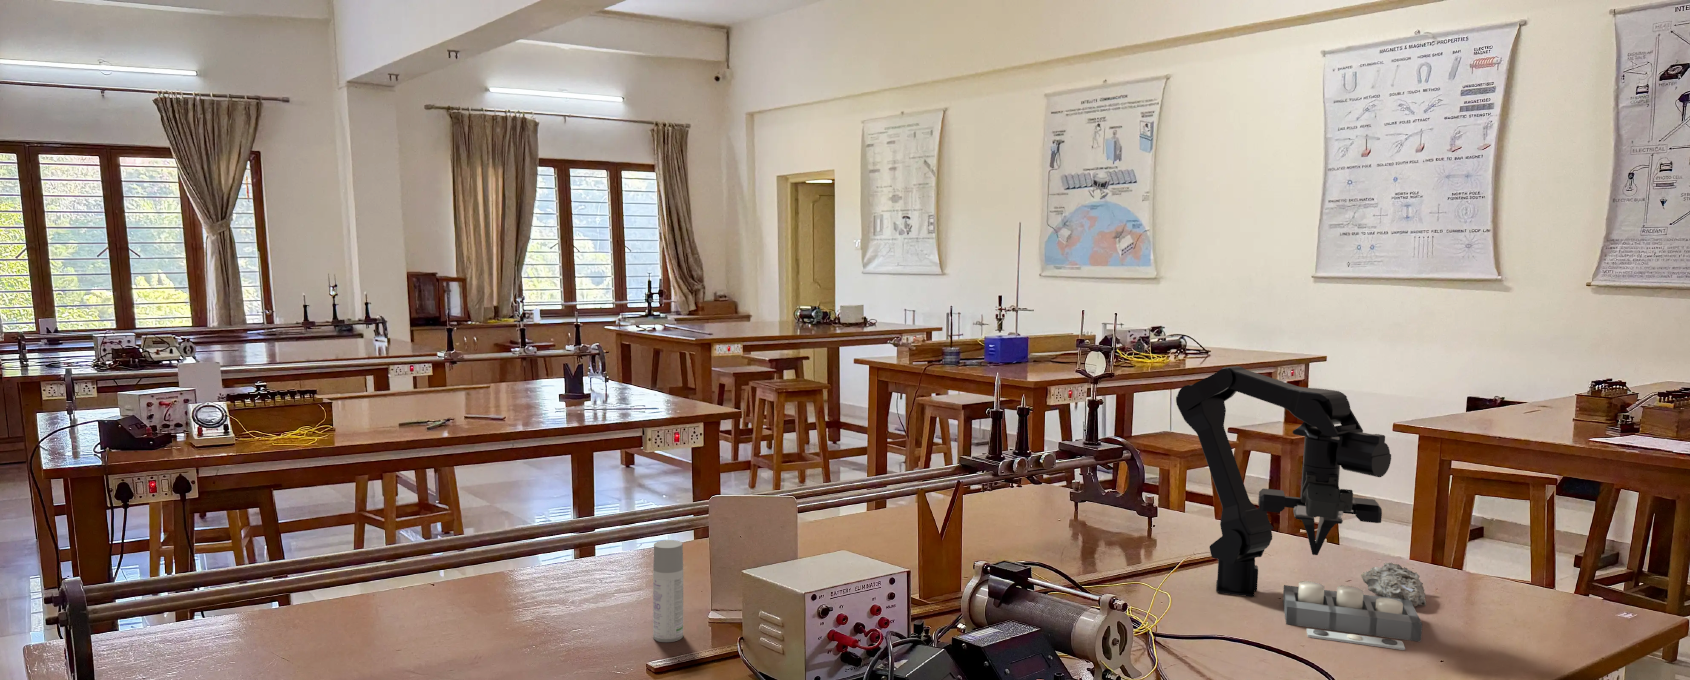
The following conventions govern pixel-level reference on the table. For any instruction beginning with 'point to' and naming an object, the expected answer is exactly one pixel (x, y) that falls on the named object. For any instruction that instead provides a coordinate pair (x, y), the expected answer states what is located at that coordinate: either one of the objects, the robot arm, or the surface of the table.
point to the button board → (1352, 616)
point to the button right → (1389, 606)
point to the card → (1355, 639)
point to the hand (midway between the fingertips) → (1314, 554)
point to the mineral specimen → (1395, 583)
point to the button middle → (1349, 597)
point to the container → (668, 591)
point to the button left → (1311, 592)
